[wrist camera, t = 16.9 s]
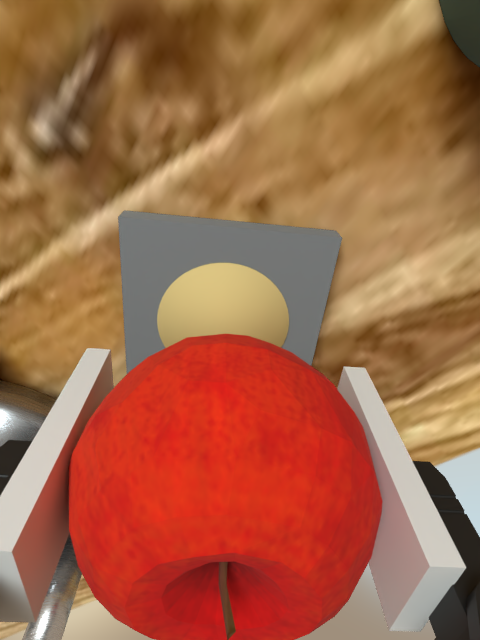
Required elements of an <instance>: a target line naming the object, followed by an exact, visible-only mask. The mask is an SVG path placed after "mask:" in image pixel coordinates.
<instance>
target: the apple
mask: <svg viewBox="0 0 480 640" xmlns="http://www.w3.org/2000/svg"><path fill="white" fill-rule="evenodd" d="M382 502H383V501H382V497H381V493H380V489H379V485H378V481H377V477H376V473H375V469H374V465H373V461H372V457H371V453H370V449H369V445H368V442H367V438H366V435H365V432H364V428H363V426H362V424H361V423H360V421H359V419H358V417H357V416H356V414H355V412H354V411H353V410H352V408H351V407H350V406H349V404H348V403H347V402H346V400H345V399H344V398H343V396H342V395H341V394H340V392H339V391H338V390H337V388H336V387H335V386H334V384H333V383H332V382H331V381H329V380H328V379H327V378H326V377H325V376H324V375H323V374H322V373H320V372H319V371H317V370H316V369H315V368H313V367H312V366H310V365H309V364H308V363H306V362H305V361H303V360H302V359H300V358H299V357H298V356H296V355H295V354H293V353H292V352H290V351H287V350H285V349H283V348H281V347H278V346H276V345H274V344H272V343H269V342H266V341H263V340H260V339H257V338H254V337H251V336H246V335H236V334H217V335H207V336H197V337H187V338H185V339H183V340H181V341H179V342H177V343H175V344H173V345H171V346H169V347H167V348H165V349H163V350H161V351H159V352H157V353H155V354H153V355H151V356H149V357H147V358H146V359H145V360H144V361H142V362H141V363H140V364H139V365H137V366H136V367H135V368H134V369H132V370H131V371H130V372H129V373H128V374H127V375H126V376H125V377H124V378H123V379H122V380H121V381H120V382H119V383H118V384H117V385H116V386H115V387H114V389H113V390H112V391H111V392H110V393H109V394H108V395H107V396H106V397H105V398H104V400H103V401H102V402H101V404H100V405H99V406H98V408H97V409H96V411H95V412H94V413H93V415H92V416H91V418H90V419H89V420H88V422H87V424H86V426H85V428H84V430H83V432H82V435H81V437H80V439H79V441H78V443H77V445H76V447H75V449H74V451H73V453H72V456H71V460H70V464H69V532H70V536H71V540H72V544H73V548H74V552H75V556H76V560H77V564H78V567H79V569H80V571H81V572H82V574H83V576H84V578H85V580H86V582H87V583H88V585H89V587H90V589H91V591H92V593H93V594H94V596H95V598H96V599H97V600H98V601H99V602H100V603H101V604H102V605H103V606H104V607H105V608H106V609H107V610H108V611H109V612H110V614H112V616H113V617H114V618H115V619H117V620H119V621H120V622H122V623H124V624H125V625H127V626H129V627H130V628H132V629H134V630H135V631H137V632H139V633H141V634H143V635H146V636H148V637H150V638H152V639H156V640H294V639H297V638H300V637H302V636H305V635H307V634H309V633H311V632H312V631H314V630H315V629H317V628H318V627H320V626H321V625H323V624H324V623H325V622H327V621H328V620H330V619H331V618H333V617H334V616H335V615H336V614H337V613H338V612H339V611H340V609H341V608H342V607H343V606H344V605H345V604H346V602H347V601H348V600H349V598H350V596H351V594H352V592H353V590H354V589H355V587H356V585H357V583H358V581H359V579H360V577H361V575H362V574H363V572H364V570H365V568H366V566H367V564H368V562H369V560H370V559H371V557H372V553H373V548H374V544H375V540H376V536H377V531H378V527H379V523H380V519H381V514H382Z"/></svg>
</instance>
